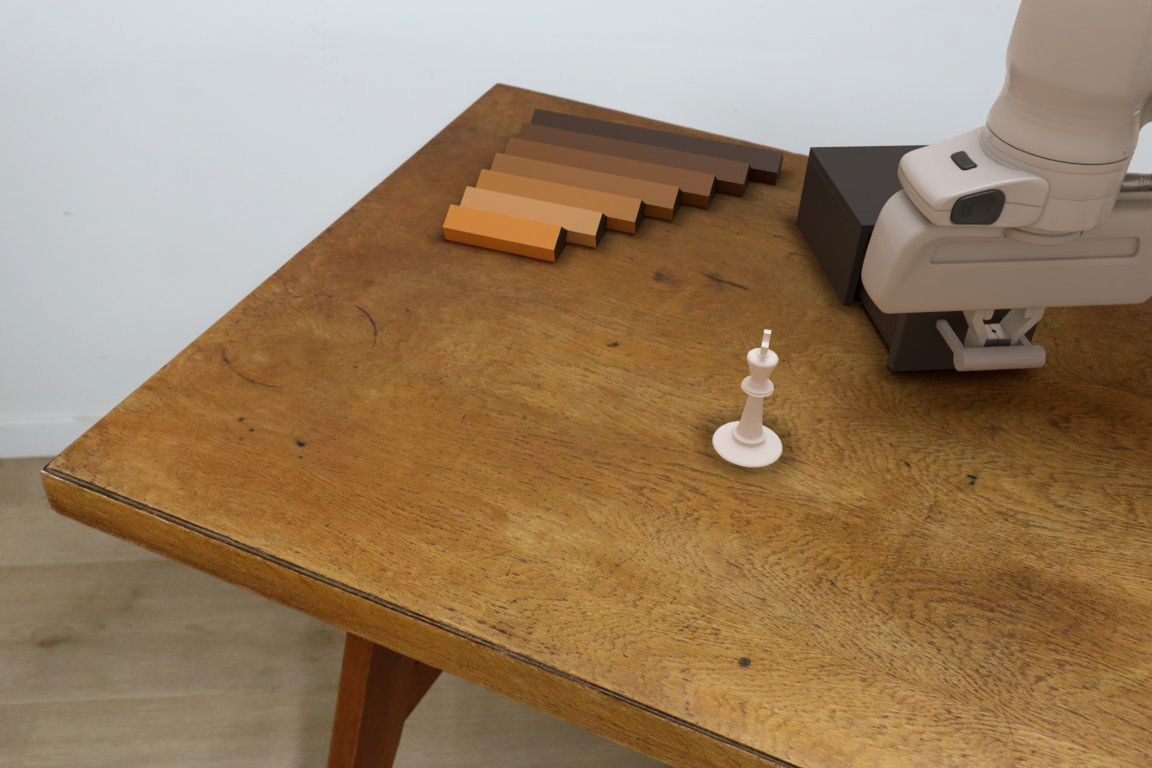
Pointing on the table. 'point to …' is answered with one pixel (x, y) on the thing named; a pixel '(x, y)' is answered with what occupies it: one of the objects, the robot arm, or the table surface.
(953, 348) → the drawer
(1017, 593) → the table surface
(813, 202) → the small storage cabinet
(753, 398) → the chess piece
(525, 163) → the pan flute
